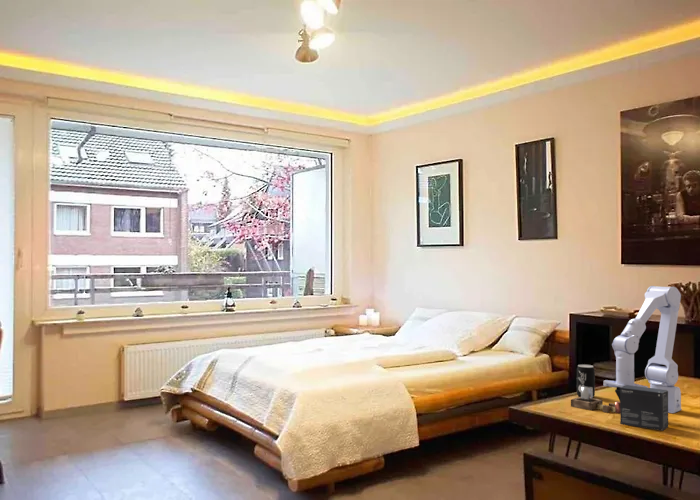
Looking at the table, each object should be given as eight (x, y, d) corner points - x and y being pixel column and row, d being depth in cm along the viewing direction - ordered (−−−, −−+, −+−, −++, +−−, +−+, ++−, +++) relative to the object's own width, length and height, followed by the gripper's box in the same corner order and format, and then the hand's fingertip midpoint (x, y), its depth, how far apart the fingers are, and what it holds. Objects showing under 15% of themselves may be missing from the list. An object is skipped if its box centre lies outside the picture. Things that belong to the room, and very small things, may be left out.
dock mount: (616, 409, 218) (616, 402, 218) (606, 413, 213) (606, 406, 213) (581, 403, 228) (581, 396, 228) (570, 406, 223) (570, 399, 223)
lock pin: (622, 412, 214) (622, 402, 214) (620, 413, 212) (620, 403, 212) (597, 408, 220) (597, 398, 220) (594, 408, 219) (594, 398, 219)
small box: (669, 427, 196) (669, 389, 196) (663, 431, 190) (663, 393, 191) (626, 419, 204) (626, 384, 205) (619, 423, 199) (619, 387, 199)
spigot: (594, 407, 222) (594, 387, 222) (588, 408, 220) (588, 389, 220) (585, 404, 225) (585, 385, 225) (578, 406, 223) (578, 387, 223)
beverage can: (596, 398, 235) (596, 367, 236) (578, 397, 237) (578, 366, 237) (593, 395, 242) (592, 364, 242) (575, 394, 243) (575, 364, 243)
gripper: (599, 369, 215) (599, 407, 215) (641, 375, 204) (641, 415, 204) (608, 366, 220) (608, 404, 219) (650, 372, 209) (650, 412, 209)
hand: (625, 409), depth 212 cm, fingers closed
